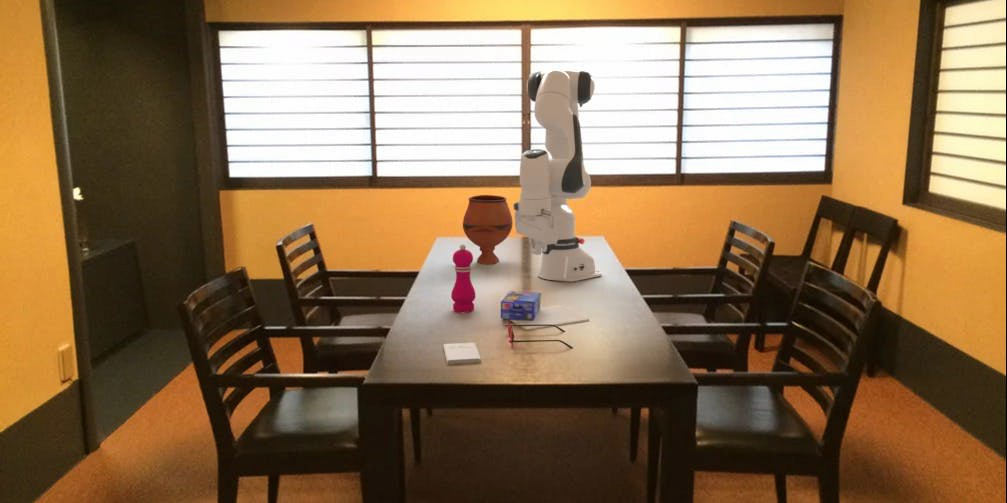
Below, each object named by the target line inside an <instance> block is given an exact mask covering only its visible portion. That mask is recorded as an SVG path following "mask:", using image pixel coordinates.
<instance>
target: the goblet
mask: <svg viewBox="0 0 1007 503" xmlns="http://www.w3.org/2000/svg"><path fill="white" fill-rule="evenodd" d="M466 208H467V209H466V211H465V212H464V213H465V214H464V216H463V219H462V228H463V232H464V234H465V236H466V237H467V238H468V240H469V241H470V242H471V243H473V244H474V245H475V246H477V247H479V251H480V252H481V254H480V255H479V256H478V258H477V259H476V262H477V263H478V264H481V265H494V264H493V263H496V264H497V262H498V263H499V262H500V259H499V257H498V256H497V255H496V254H495V253H494V251H495V250H496V247H497V246H499V245H500V244H502V243H503V242H504V241H505V240H506V239H507V238H508V236H509V235H510V234H511V231H512V229H513V216H512V213H511V209H510V207H509V205H508V201H507V197H505V196H502V195H491V194H481V195H474V196H470V197H469V198H468V206H467V207H466Z"/></svg>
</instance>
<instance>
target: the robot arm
mask: <svg viewBox="0 0 1007 503" xmlns="http://www.w3.org/2000/svg"><path fill="white" fill-rule="evenodd" d="M595 88H596V86H595V81H594V78H593V75H592V74H591V72H589V71H587V70H582V69H580V70H575V69H574V70H573V69H563V68H561V69H548V70H542V69H537V70H535V71H532V72H531V73H530V74H529V76H528V78H527V82H526V92H527V95H528V99H530V100H531V101H532V102H534V117H535V120H536V122H537V123H538V124H539V125H540V126H541V127H543V128H544V129H545V136H544V137H545V140H544V142H545V143H544V147H545V149H546V150H543V149H539V148H538V149H537V148H536V149H530V150H526V151H524V152H522V154H521V157H520V164H519V165H520V166H519V184H520V189H521V190H520V195H519V200H518V201H515V202H514V203H513V205H512V206H513V211H514V229H515V232H516V234H519V235H520V236H523V237H526V238H528V242H529V245H530V247H531V253H532V254H533V255H536V256H539V255H541V263H540V266H539V267H540V268H539V272H538V274H537V275H538V277H539V278H541V279H545V280H549V281H559V282H561V281H563V282H567V283H569V282H570V283H571V282H577V281H578V282H579V281H582V280H587V279H592V278H597V277H601V276H602V272H601V271H600V270H599V269H596V265H595V259H594V258H593V255H592V256H591V255H590V254H589V253H588V252H587V251H585V250H584V249H583V248H582V247H581V246H580V244H581V245H584V243H586V242H585V238H582V237H577V236H576V215H575V213H574V211H573V210H572V209H571V207H570V206H569V203H568V202H567V200H579V199H583V198H585V197H586V196H587V195H588V194H589V193H590V190H591V187H592V186H591V185H592V179H591V177H590V176H591V175H590V174H589V173H588V172H587V171H586V169H585V164H584V154H583V142H582V132H581V131H582V130H581V124H580V120H579V107H580V108H581V107H583V105H584V104H587V103H588V102H590V100H591V99H592V97H593V95H594V92H595ZM578 105H579V106H578ZM549 154H550V156H551V158H549Z"/></svg>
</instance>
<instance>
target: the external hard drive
mask: <svg viewBox="0 0 1007 503" xmlns="http://www.w3.org/2000/svg"><path fill="white" fill-rule="evenodd" d="M443 350H444V356H445V360H446V364H447V365H455V364H454V363H462V364H473V363H472V362H479V363H482V359H481V355H480V353H479V350H478V348H477V344H476V342H456V343H444V344H443Z"/></svg>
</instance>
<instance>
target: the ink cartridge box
mask: <svg viewBox="0 0 1007 503" xmlns="http://www.w3.org/2000/svg"><path fill="white" fill-rule="evenodd" d="M541 297H542V294H541V292H534V291H533V292H532V291H520V290H518V291H517V290H510V291H508V293H506V295H505V296H504V297H503V299H502V300H501V301H500V319H501V320H509V319H512V320H513V319H516V320H530V321H534V319H535V317H536V315H537V313H538V312H539V310H540V308H541V301H542V300H541Z"/></svg>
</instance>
